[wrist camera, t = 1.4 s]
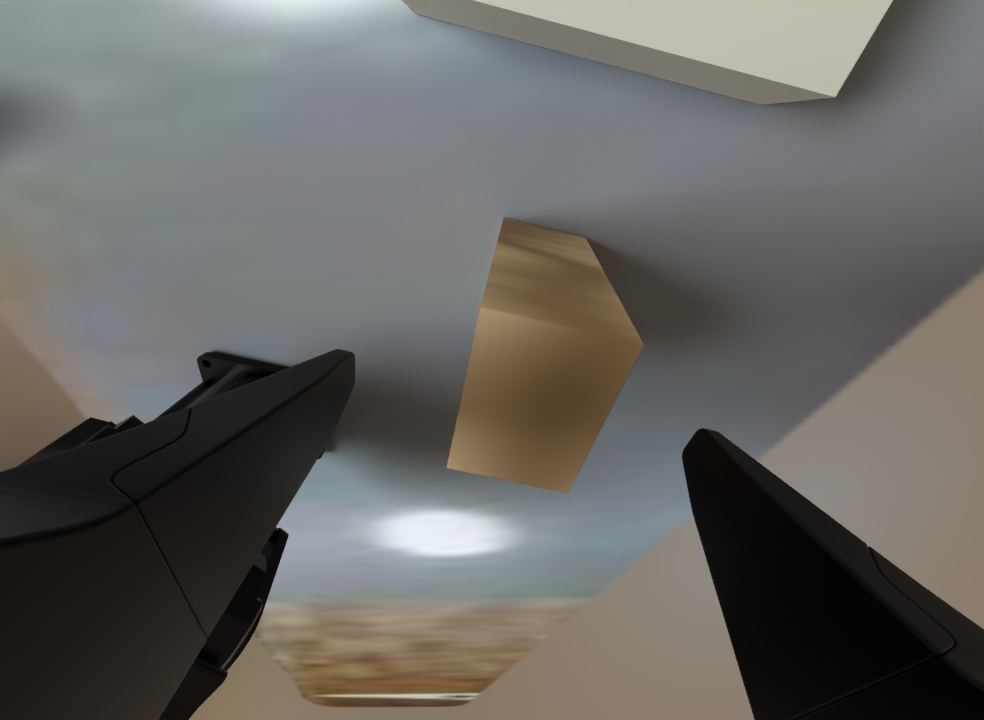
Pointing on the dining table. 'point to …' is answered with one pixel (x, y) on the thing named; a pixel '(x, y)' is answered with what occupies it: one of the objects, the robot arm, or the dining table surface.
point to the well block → (692, 38)
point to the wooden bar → (541, 360)
